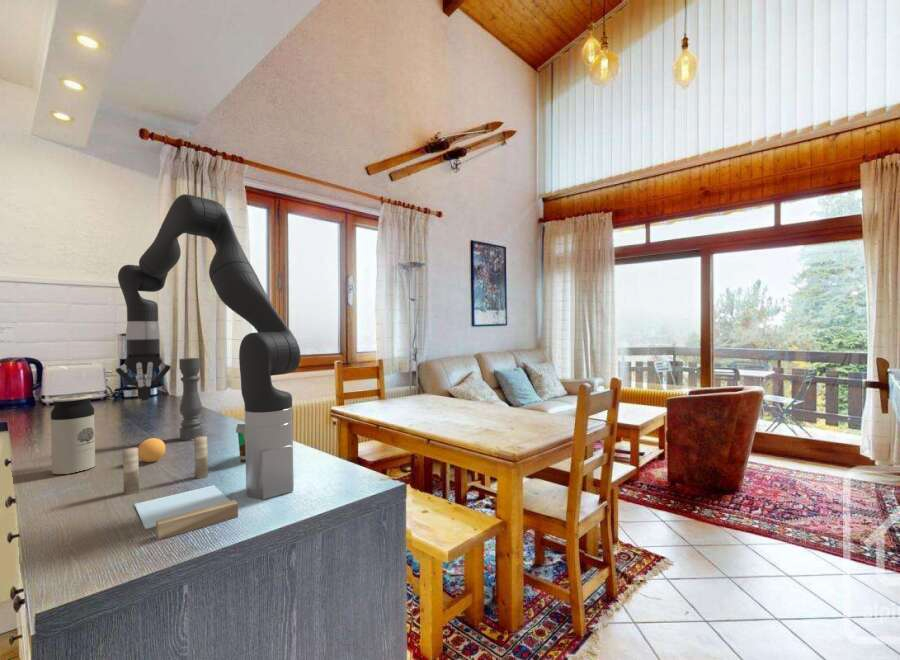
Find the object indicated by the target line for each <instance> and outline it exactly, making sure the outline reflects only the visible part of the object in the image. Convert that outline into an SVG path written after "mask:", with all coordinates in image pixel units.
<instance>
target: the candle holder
mask: <svg viewBox="0 0 900 660" xmlns="http://www.w3.org/2000/svg"><path fill="white" fill-rule="evenodd" d="M178 360H179V370H180V373H181V374H182V377H180V381H181V382H182V384H183V392H182V393H183V394H182V396H181V401H180V405H179V412H180V415H182V418H183V420H182V421H181V422H180V426H181V427H180V428H179V440H180V439H181V440H180V441H182V440H190V441H192V440H191V439H194V438H196V437H200V436H204V433H203V431H204V430H203V427H204V426H203V425H202V420H201V419H200V418H199V417H200V414H201V413H202V410H203V405H202V401H201V398H200V395H199V390H198V382H199V381H200V380H201V378H200V376H198V374H199V372H200V369H201V358H200V357H189V358H179V359H178Z"/></svg>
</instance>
